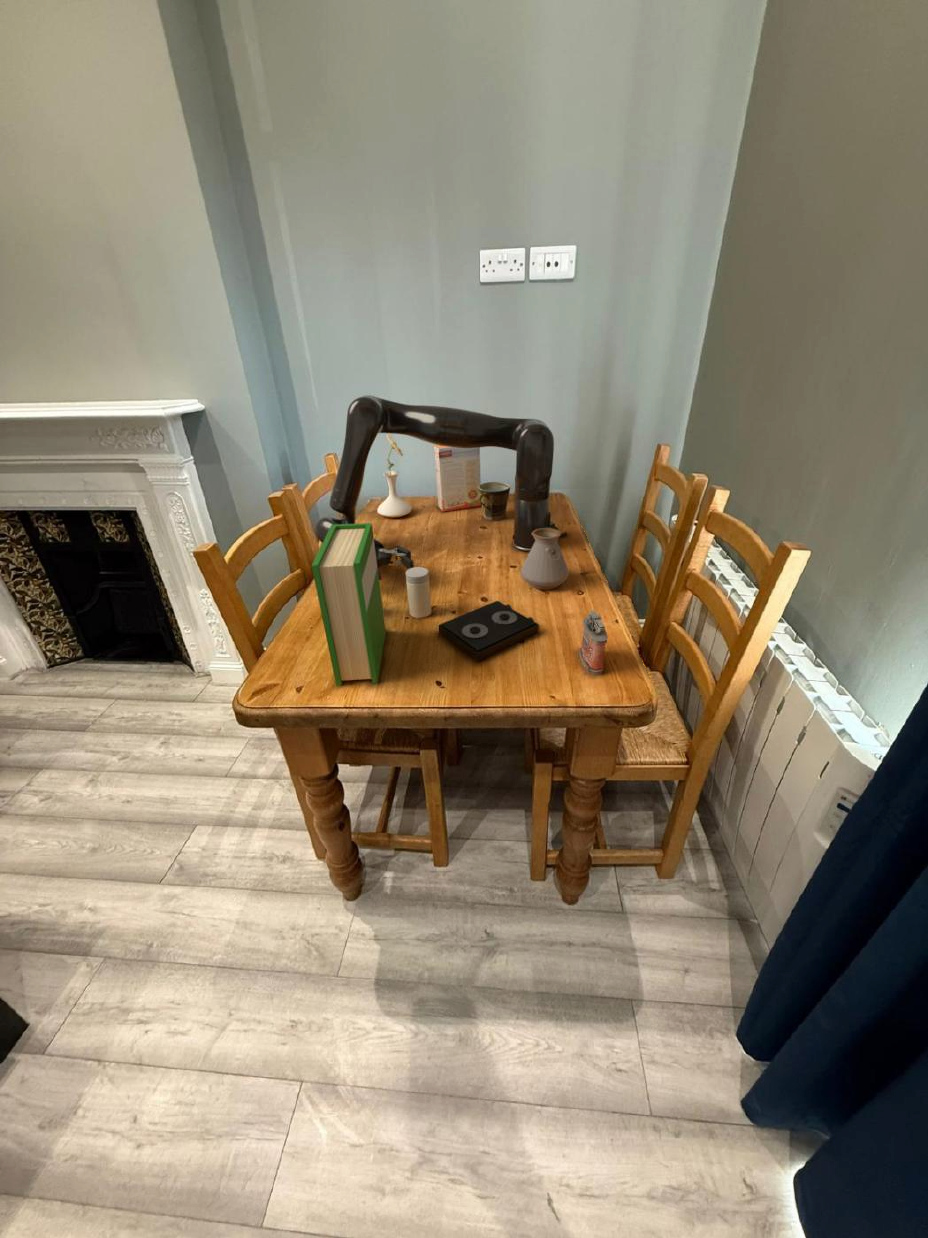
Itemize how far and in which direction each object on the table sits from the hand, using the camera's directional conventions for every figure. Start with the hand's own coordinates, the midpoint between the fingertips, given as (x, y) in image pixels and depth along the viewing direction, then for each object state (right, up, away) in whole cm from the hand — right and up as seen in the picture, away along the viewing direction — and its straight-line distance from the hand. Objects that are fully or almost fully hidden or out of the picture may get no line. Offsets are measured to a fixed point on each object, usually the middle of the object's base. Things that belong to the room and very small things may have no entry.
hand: (396, 570), depth 115 cm
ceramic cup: (+25, +21, +47) cm, 57 cm away
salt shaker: (+6, -10, -3) cm, 12 cm away
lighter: (+40, -19, -20) cm, 49 cm away
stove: (+21, -14, -11) cm, 27 cm away
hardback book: (-4, -19, -17) cm, 25 cm away
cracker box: (+14, +27, +57) cm, 65 cm away
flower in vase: (-7, +24, +53) cm, 59 cm away
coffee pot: (+35, -5, +4) cm, 35 cm away
